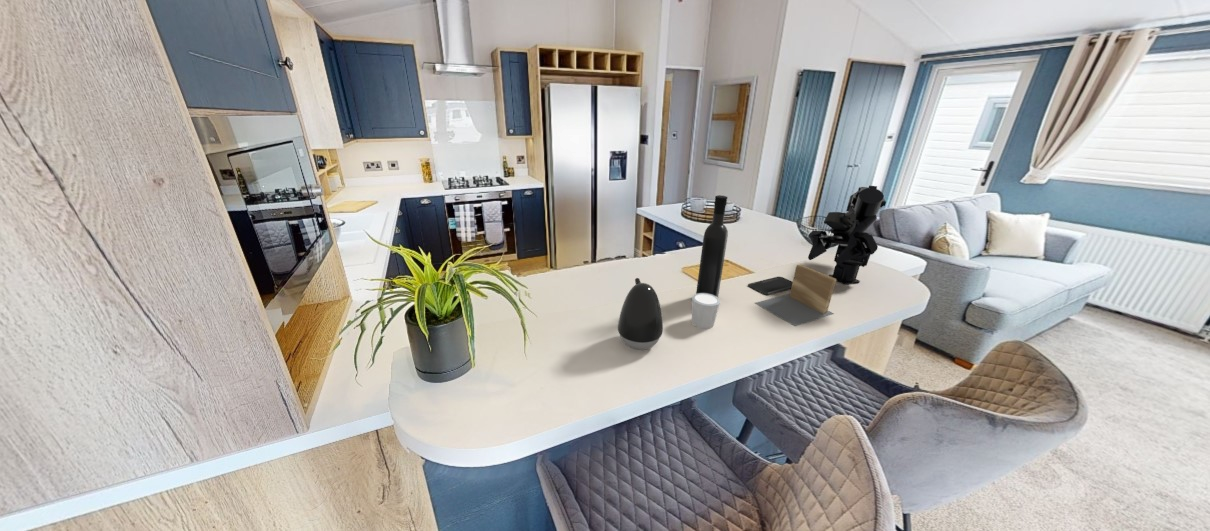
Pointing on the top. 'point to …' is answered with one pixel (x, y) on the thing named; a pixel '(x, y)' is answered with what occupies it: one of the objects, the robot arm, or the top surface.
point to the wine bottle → (713, 251)
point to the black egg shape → (640, 317)
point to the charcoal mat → (791, 310)
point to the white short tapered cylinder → (704, 310)
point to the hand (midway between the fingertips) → (822, 260)
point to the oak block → (812, 288)
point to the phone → (772, 285)
